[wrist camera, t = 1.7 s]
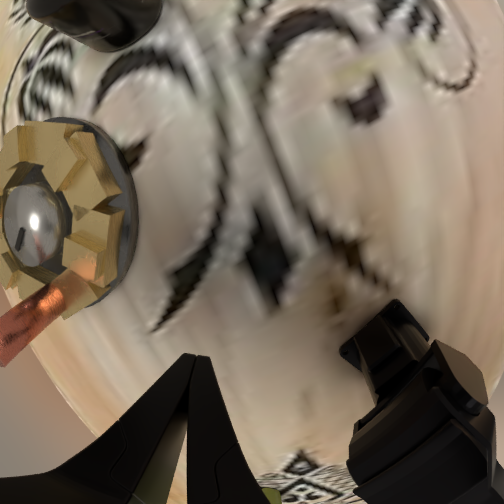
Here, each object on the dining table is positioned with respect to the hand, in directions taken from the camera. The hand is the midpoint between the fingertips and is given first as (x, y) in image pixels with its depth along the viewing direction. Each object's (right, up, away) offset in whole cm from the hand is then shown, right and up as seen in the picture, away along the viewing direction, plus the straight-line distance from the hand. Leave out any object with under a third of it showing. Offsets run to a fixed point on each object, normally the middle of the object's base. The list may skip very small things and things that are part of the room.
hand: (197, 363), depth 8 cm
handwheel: (-14, +6, +9) cm, 18 cm away
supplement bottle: (-8, +22, +5) cm, 24 cm away
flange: (-14, +7, +10) cm, 19 cm away
